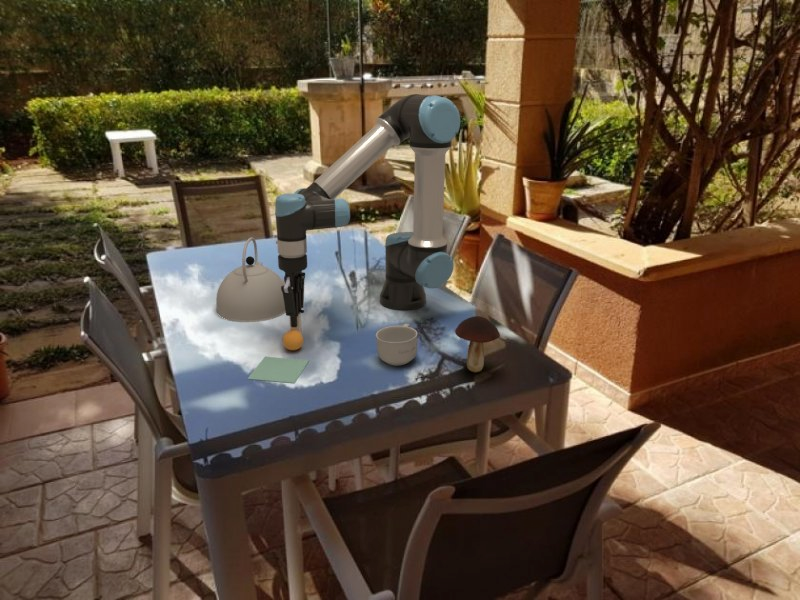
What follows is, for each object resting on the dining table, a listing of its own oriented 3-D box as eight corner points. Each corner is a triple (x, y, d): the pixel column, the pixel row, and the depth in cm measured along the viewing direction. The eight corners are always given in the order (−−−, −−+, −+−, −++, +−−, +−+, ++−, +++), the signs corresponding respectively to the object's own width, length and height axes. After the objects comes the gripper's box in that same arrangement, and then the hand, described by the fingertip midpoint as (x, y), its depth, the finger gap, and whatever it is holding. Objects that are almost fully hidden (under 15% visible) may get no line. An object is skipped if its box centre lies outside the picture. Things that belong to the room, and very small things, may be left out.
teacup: (403, 374, 149) (403, 345, 146) (367, 362, 154) (367, 335, 151) (430, 353, 160) (431, 326, 157) (396, 343, 165) (396, 317, 162)
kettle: (228, 292, 200) (222, 227, 192) (295, 293, 201) (292, 228, 193) (208, 322, 177) (199, 250, 169) (284, 322, 178) (279, 250, 169)
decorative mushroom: (474, 357, 158) (478, 305, 152) (505, 373, 150) (510, 319, 144) (444, 369, 151) (446, 315, 146) (474, 386, 143) (478, 330, 138)
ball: (305, 327, 160) (298, 337, 155) (306, 344, 163) (300, 355, 158) (285, 325, 161) (278, 336, 156) (287, 342, 164) (280, 353, 159)
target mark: (309, 360, 154) (309, 360, 154) (294, 383, 143) (294, 382, 143) (265, 357, 156) (265, 356, 156) (247, 379, 145) (247, 378, 145)
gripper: (287, 246, 161) (291, 325, 170) (269, 260, 149) (274, 344, 158) (313, 248, 160) (316, 327, 169) (298, 262, 148) (301, 347, 157)
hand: (296, 335), depth 163 cm, fingers closed
